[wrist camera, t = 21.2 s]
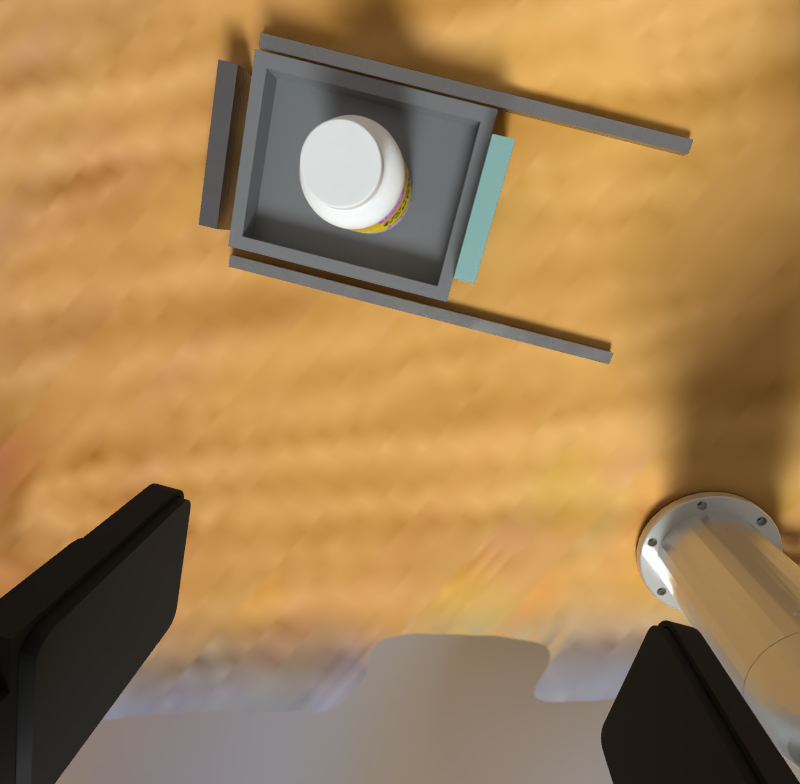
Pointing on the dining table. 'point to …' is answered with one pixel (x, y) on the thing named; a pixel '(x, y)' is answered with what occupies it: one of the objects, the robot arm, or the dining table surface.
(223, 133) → the rails
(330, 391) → the dining table surface
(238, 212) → the drawer
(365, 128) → the supplement bottle
